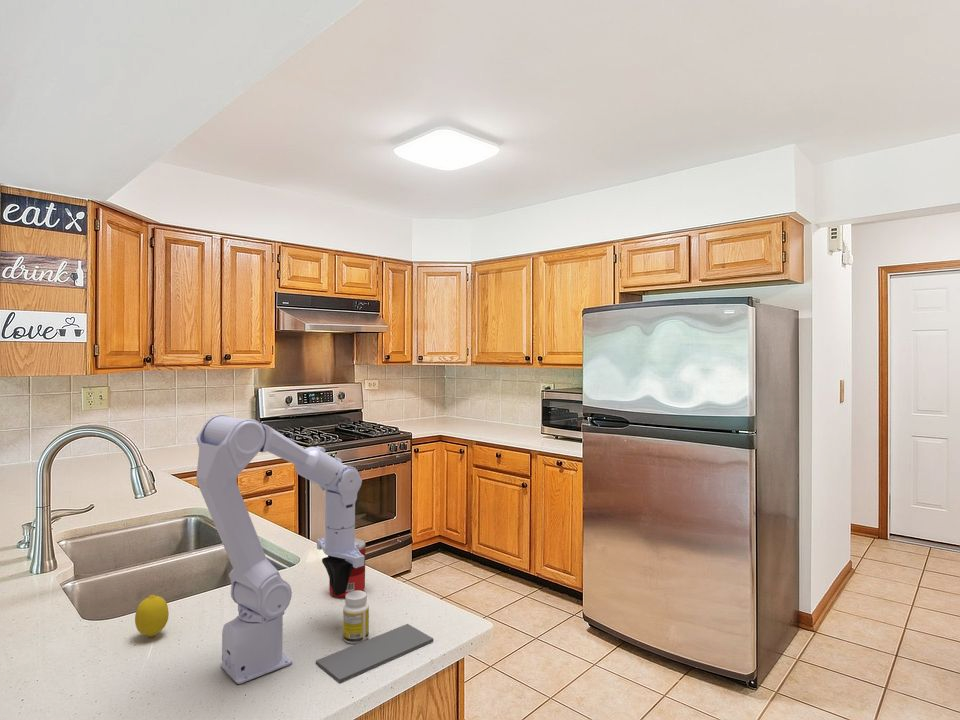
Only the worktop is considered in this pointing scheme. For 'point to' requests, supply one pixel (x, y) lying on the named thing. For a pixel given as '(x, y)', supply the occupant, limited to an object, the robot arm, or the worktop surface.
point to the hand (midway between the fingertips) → (339, 593)
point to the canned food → (354, 575)
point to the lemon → (151, 615)
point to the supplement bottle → (355, 617)
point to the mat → (373, 652)
